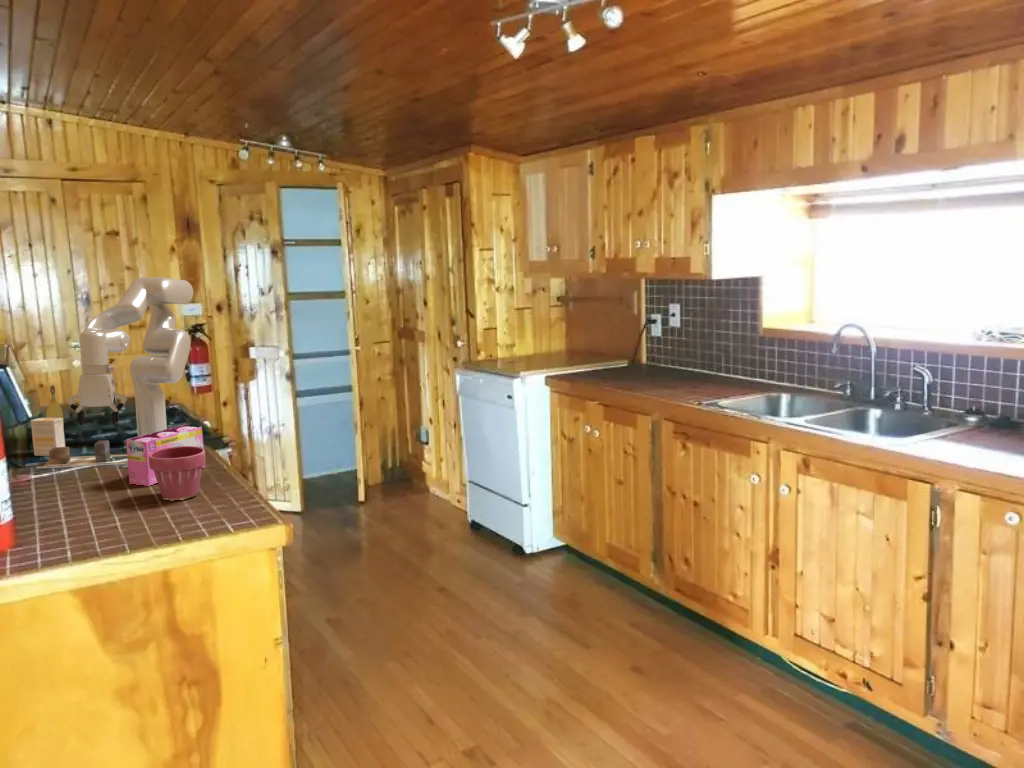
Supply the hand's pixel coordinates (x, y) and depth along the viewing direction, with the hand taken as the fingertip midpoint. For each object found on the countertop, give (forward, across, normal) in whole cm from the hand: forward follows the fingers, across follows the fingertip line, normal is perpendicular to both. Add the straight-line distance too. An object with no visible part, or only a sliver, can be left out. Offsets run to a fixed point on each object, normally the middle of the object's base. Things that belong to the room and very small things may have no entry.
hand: (98, 424), depth 250 cm
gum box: (+14, -24, +18) cm, 33 cm away
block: (+12, +12, -1) cm, 17 cm away
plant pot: (+14, -31, +41) cm, 53 cm away
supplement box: (+13, +19, -14) cm, 27 cm away
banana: (+13, +24, -33) cm, 43 cm away
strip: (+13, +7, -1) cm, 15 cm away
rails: (+13, +2, -1) cm, 14 cm away
